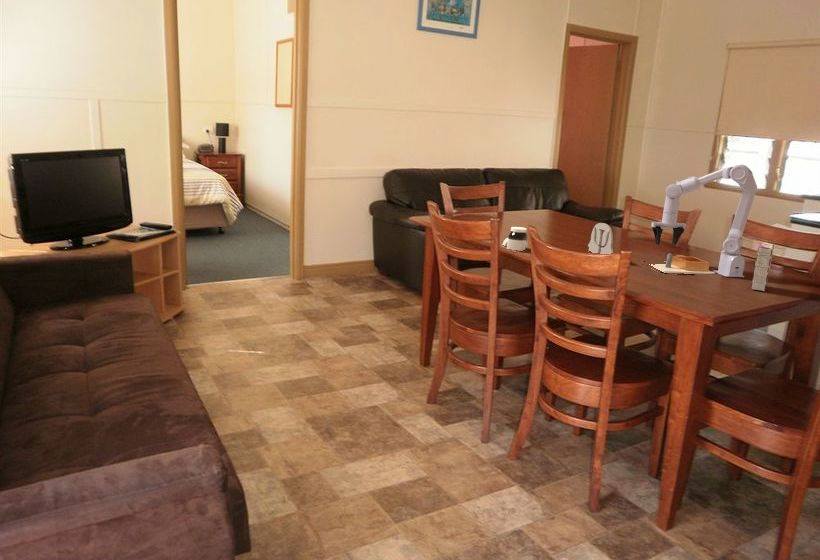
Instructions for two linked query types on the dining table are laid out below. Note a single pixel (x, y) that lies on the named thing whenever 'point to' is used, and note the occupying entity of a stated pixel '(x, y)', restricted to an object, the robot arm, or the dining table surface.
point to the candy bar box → (762, 267)
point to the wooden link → (689, 263)
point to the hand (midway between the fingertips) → (665, 244)
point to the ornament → (597, 238)
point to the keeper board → (676, 268)
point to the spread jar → (516, 239)
